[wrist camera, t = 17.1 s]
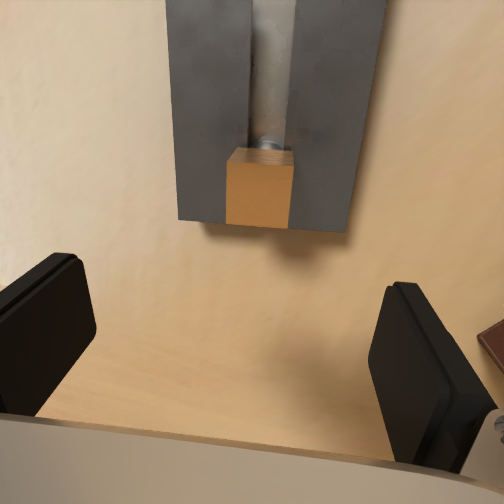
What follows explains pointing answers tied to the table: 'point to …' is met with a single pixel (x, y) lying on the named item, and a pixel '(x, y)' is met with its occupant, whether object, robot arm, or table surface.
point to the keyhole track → (271, 97)
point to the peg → (259, 185)
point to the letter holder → (494, 343)
